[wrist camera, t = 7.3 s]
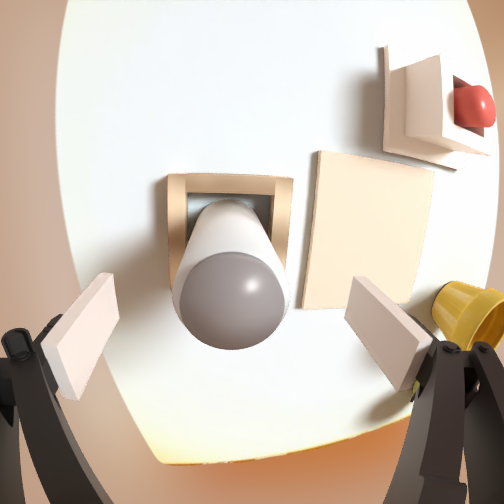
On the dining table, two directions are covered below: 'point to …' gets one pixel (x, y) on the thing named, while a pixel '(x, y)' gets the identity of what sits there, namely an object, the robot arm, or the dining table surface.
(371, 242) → the sand mat
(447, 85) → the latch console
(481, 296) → the plant pot
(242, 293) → the filter cartridge
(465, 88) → the latch button
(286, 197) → the socket
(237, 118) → the dining table surface
